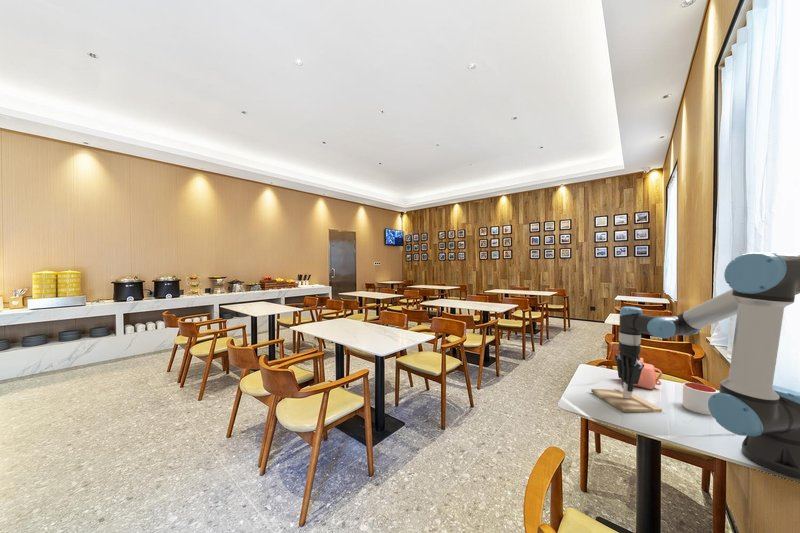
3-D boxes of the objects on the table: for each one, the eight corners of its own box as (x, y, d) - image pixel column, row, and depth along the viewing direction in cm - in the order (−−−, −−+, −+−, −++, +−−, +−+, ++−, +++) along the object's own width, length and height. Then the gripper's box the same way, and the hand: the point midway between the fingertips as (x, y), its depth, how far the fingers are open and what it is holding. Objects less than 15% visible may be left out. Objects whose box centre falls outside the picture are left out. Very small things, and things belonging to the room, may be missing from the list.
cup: (723, 418, 120) (724, 393, 119) (693, 415, 122) (694, 391, 121) (703, 406, 129) (704, 383, 129) (676, 404, 131) (677, 381, 131)
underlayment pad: (665, 415, 121) (665, 410, 121) (620, 417, 120) (620, 411, 119) (624, 393, 141) (624, 388, 141) (585, 394, 139) (585, 389, 139)
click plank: (651, 412, 122) (651, 408, 122) (623, 411, 121) (623, 408, 121) (615, 392, 140) (616, 389, 140) (591, 391, 139) (591, 388, 139)
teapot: (635, 393, 142) (636, 366, 141) (611, 378, 158) (612, 354, 158) (668, 394, 141) (669, 367, 141) (641, 379, 158) (642, 355, 157)
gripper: (651, 347, 123) (648, 404, 124) (625, 339, 136) (623, 390, 137) (634, 347, 123) (631, 405, 124) (609, 339, 136) (607, 391, 137)
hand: (627, 397), depth 130 cm, fingers closed
